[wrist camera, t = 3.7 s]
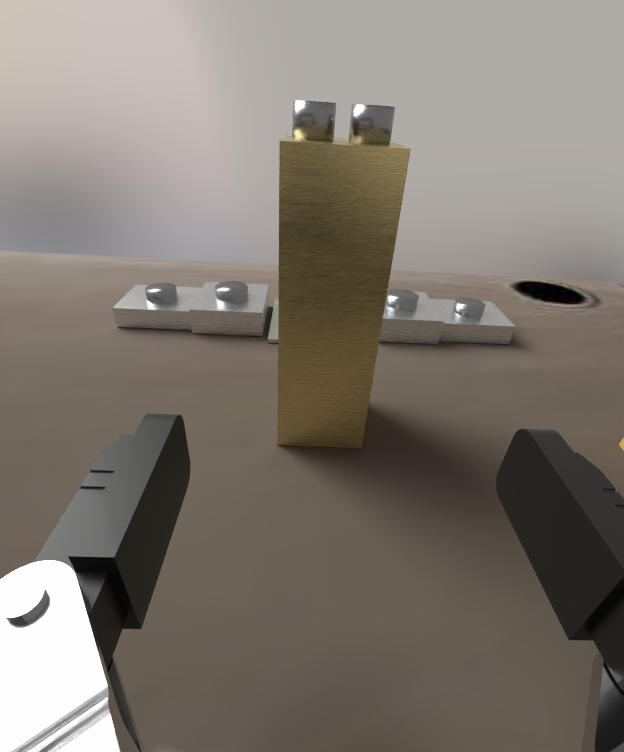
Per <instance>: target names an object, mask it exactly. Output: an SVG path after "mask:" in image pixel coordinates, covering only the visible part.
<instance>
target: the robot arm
mask: <svg viewBox="0 0 624 752" xmlns="http://www.w3.org/2000/svg"><path fill="white" fill-rule="evenodd" d="M189 477H190V458H189V452H188V446H187V440H186V433H185V427H184V421H183V418H182V416H181V415H169V414H147V415H146V416H145V417H144V418H143V420H142V422H141V424H140V425H139V427H138V429H137V431H136V433H135V435H121V436H120V437H119V438H117V439H116V440H115V441H114V442H113V443H111V444H110V445H109V446H108V447H107V448H105V449H104V450H103V451H102V452H101V454H100V456H99V457H98V459H97V461H96V462H95V464H94V465H93V467H92V469H91V473H90V474H88V475H87V477H86V478H85V480H84V482H83V483H82V485H81V489H80V490H78V491H77V493H76V495H75V496H74V498H73V499H72V501H71V503H70V504H69V506H68V508H67V509H66V511H65V512H64V514H63V516H62V517H61V519H60V521H59V522H58V524H57V525H56V527H55V529H54V530H53V532H52V533H51V535H50V537H49V538H48V540H47V542H46V543H45V545H44V546H43V548H42V550H41V551H40V553H39V554H38V556H37V557H36V559H35V560H34V561H33V562H32V564H28V565H26V566H23V567H21V568H19V569H17V570H15V571H13V572H11V573H10V574H8V575H7V576H5V577H4V578H2V579H1V580H0V752H144V749H143V746H142V742H141V739H140V736H139V733H138V730H137V727H136V723H135V720H134V717H133V714H132V711H131V707H130V704H129V701H128V698H127V695H126V691H125V688H124V685H123V682H122V679H121V676H120V672H119V669H118V666H117V663H116V660H115V656H114V654H113V653H114V650H115V647H116V645H117V642H118V639H119V637H120V634H121V631H122V629H141V628H142V625H143V622H144V618H145V615H146V612H147V609H148V606H149V603H150V600H151V597H152V594H153V591H154V588H155V585H156V582H157V579H158V576H159V573H160V570H161V567H162V564H163V561H164V558H165V554H166V551H167V548H168V545H169V542H170V539H171V536H172V533H173V530H174V527H175V524H176V521H177V518H178V515H179V512H180V509H181V506H182V503H183V500H184V497H185V493H186V490H187V487H188V483H189ZM496 488H497V493H498V497H499V499H500V501H501V503H502V505H503V507H504V509H505V511H506V513H507V516H508V518H509V520H510V522H511V524H512V526H513V528H514V530H515V532H516V534H517V536H518V538H519V540H520V542H521V544H522V546H523V548H524V550H525V552H526V554H527V556H528V558H529V560H530V562H531V564H532V566H533V568H534V570H535V572H536V574H537V576H538V578H539V580H540V582H541V584H542V586H543V589H544V591H545V593H546V595H547V597H548V599H549V601H550V603H551V605H552V607H553V609H554V611H555V613H556V615H557V617H558V619H559V621H560V623H561V625H562V627H563V629H564V631H565V633H566V635H567V637H568V639H569V640H593V641H594V642H595V644H596V646H597V648H598V650H599V653H598V654H597V655H596V657H595V659H594V662H593V669H592V677H591V684H590V692H589V700H588V708H587V716H586V723H585V731H584V739H583V747H582V752H624V499H623V498H622V496H621V495H620V494H619V493H616V492H615V488H614V486H613V485H612V484H611V483H610V482H609V480H608V479H607V478H606V477H605V475H604V474H603V473H602V472H601V471H600V469H598V468H597V467H596V466H594V465H593V464H592V463H590V462H589V461H588V460H586V459H585V458H584V457H583V456H581V455H580V454H579V453H574V452H573V451H572V450H571V448H570V447H569V446H568V444H567V443H566V442H565V441H564V439H563V438H562V437H561V435H560V434H559V433H557V432H556V431H553V430H534V429H520V430H518V431H517V432H516V433H515V435H514V437H513V439H512V441H511V444H510V446H509V448H508V450H507V453H506V455H505V457H504V460H503V462H502V464H501V466H500V469H499V471H498V474H497V478H496Z"/></svg>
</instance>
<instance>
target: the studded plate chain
mask: <svg viewBox="0 0 624 752" xmlns="http://www.w3.org/2000/svg"><path fill="white" fill-rule="evenodd" d="M268 308H269V285H265V284H245V283H242V282H238V281H226V282H206V283H205V285H204V286H203V288H194V287H176V286H175V285H173V284H170V283H155V284H151V285H135V286H134V287H133V288H132V289H131V290H130V291H129V292H128V293H127V294H126V295H125V296H124V297H123V298H122V299H121V300H120V301H119V302H118V303H117V304H116V305H115V306H114V307H113V312H114V316H115V321H116V325H117V327H133V328H155V329H177V330H192V333H201V334H223V335H246V336H263V332H264V327H265V322H266V317H267V313H268ZM278 313H279V299H275V303H274V308H273V313H272V319H271V324H270V330H269V335H268V343H278ZM514 329H515V326H514V325H513V323H512V322H511V321H510V320H509V319H508V318H507V317H506V316H505V315H504V314H503V313H502V312H501V311H500V310H499V309H498V308H497V307H496V306H495V305H494V304H493V303H492V302H485V301H480V300H477V299H473V298H467V297H461V298H457V299H456V300H443V299H429V298H428V296H427V295H426V293H425V292H412V291H408V290H403V289H394V290H390V291H388V290H387V296H386V302H385V308H384V314H383V320H382V326H381V333H380V339H379V341H381V342H404V343H426V344H438V342H439V341H446V342H469V343H491V344H509V343H510V340H511V337H512V335H513V332H514Z"/></svg>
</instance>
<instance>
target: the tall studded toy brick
mask: <svg viewBox="0 0 624 752" xmlns="http://www.w3.org/2000/svg"><path fill="white" fill-rule="evenodd" d="M394 111H395V107H390V106H377V105H359V104H352V111H351V123H350V134H349V139H340V138H334V127H335V112H336V103H328V102H316V101H293V133H292V136H291V135H286V136H285V137H284V138H282V140H280V173H279V174H280V175H279V176H280V177H279V180H280V181H279V313H278V445H286V446H315V447H343V448H362V442H363V436H364V430H365V424H366V418H367V412H368V406H369V399H370V393H371V387H372V381H373V375H374V369H375V363H376V357H377V351H378V345H379V339H380V333H381V326H382V320H383V314H384V308H385V302H386V296H387V290H388V284H389V278H390V272H391V266H392V259H393V253H394V247H395V241H396V235H397V229H398V223H399V217H400V211H401V205H402V198H403V192H404V186H405V180H406V174H407V168H408V162H409V156H410V149H409V148H407V147H404V146H401V145H398V144H395V143H392V142H390V140H391V132H392V124H393V117H394Z"/></svg>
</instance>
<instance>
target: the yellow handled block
mask: <svg viewBox="0 0 624 752" xmlns="http://www.w3.org/2000/svg"><path fill="white" fill-rule="evenodd" d="M619 446H620V447H621V448H622V449H623V450H624V438H623V439H622V441H621V443H620V444H619Z"/></svg>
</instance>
